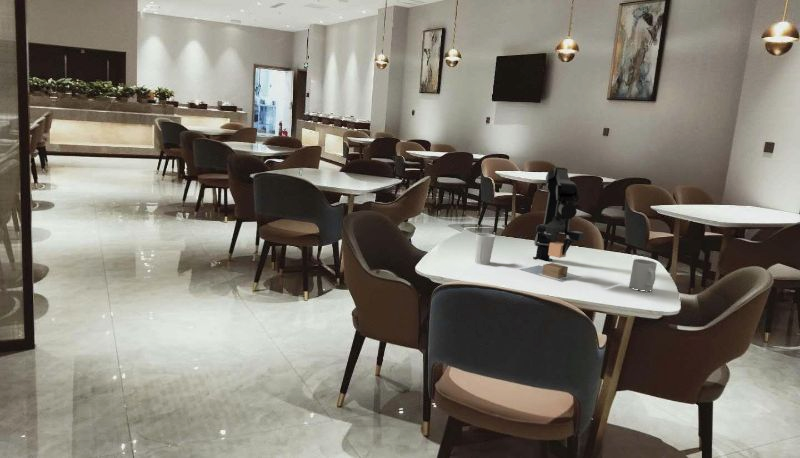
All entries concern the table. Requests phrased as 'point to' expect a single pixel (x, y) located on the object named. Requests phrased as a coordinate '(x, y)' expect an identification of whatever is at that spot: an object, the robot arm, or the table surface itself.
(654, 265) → the mug
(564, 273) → the base block
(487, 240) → the cup
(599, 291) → the table surface
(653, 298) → the table surface
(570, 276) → the plate
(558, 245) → the top block
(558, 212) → the robot arm
